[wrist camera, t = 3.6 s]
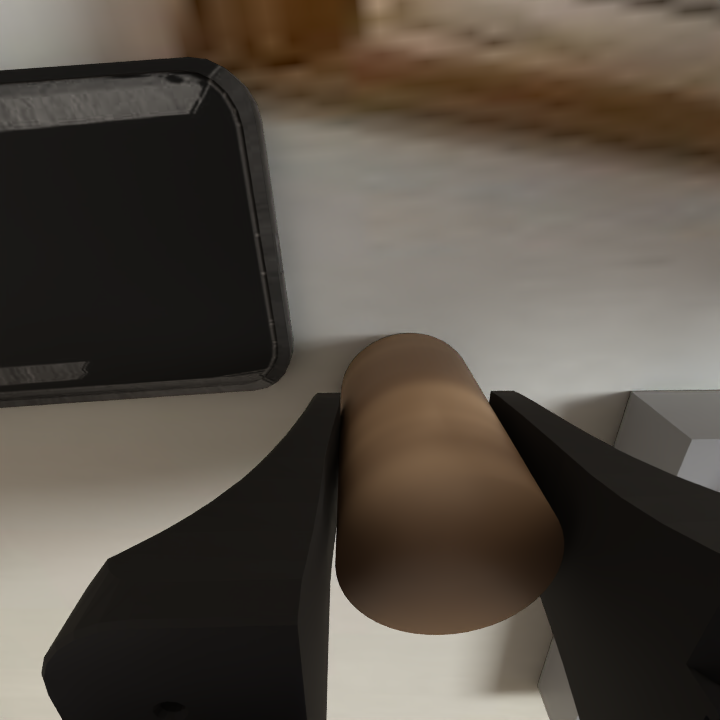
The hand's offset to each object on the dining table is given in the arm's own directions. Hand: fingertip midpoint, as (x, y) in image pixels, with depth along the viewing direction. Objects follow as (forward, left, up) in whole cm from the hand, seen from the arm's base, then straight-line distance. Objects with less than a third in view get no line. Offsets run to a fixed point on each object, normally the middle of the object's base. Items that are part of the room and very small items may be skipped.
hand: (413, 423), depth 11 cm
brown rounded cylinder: (0, 0, -2) cm, 2 cm away
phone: (-4, -11, -2) cm, 12 cm away
